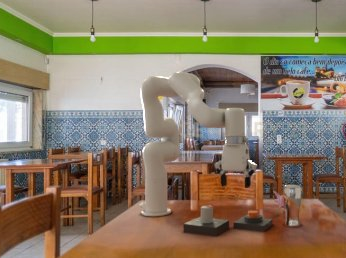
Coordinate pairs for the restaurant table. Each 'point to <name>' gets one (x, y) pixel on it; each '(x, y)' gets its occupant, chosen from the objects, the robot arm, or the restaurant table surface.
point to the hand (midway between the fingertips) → (235, 186)
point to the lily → (279, 201)
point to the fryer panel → (206, 227)
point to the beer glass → (292, 204)
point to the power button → (253, 214)
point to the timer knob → (206, 214)
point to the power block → (253, 223)
